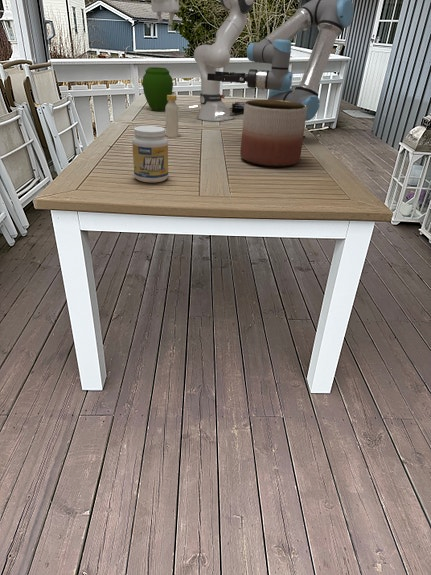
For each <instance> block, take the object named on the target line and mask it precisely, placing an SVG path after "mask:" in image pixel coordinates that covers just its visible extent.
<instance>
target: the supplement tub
mask: <svg viewBox="0 0 431 575" xmlns="http://www.w3.org/2000/svg"><path fill="white" fill-rule="evenodd" d="M133 130H134V131H133V134H134V136H133V137H132V140H131V144H132V160H133V176H134V178H135V179H136V180H138V181H139V182H143V183H161V182H164V181H166V180H167V179H168V177H169V141H168V137H167V136H166V128H164V127H162V126H157V125H139V126H136V127H134V128H133Z"/></svg>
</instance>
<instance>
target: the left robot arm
mask: <svg viewBox="0 0 431 575" xmlns="http://www.w3.org/2000/svg"><path fill="white" fill-rule="evenodd" d="M219 1H220V5H221V7H222V8H224V9H225V10H227V11H229V13H228V16H227V17H226V19H225V20H224V21H223V22H222V24H221V25H220V27H219V28H218V30H216V33H215V38H216V39H215V42H214V43H213V44H201V45H198V46H197V47H195V49H194V52H193V58H194V61H195V62H196V65H197V66H198V69H199V74H200V94H199V102H200V104H199V111H198V116H197V119H198V120H201V121H209V122H225V121H231V120H234V116H235V117H236V116H239V115H242V114H244V113H243V112H240V113H233V114H231V112H230V108H229V106H227V105H226V104H225V102H224V101H222V99H223V100H225V98H226V96H225V94H221V81H211V80H207V73H211V74H215V71H217V69H222V68H225V67H227V66H228V65H229V63H230V61H231V53H230V51H231V49H232V47H233V45H234V44H235V42H236V41H237V40H238V38H240V35H241V34H242V32H243V31H244V29H245V27H246V25H247V21H248V16H247V14H249V13H250V11H251V9H252V7H253V6H254V3H255V0H219ZM150 4H151V6H150V7H151V11H152V13H156V17H157V23H158V24H163V19H162V13H168V15H169V16H168V19H167V23H168V24H173V23H174V17H175V13H179V11H180V1H179V0H150ZM197 107H198V105H197V104H196V105H191V106H188V108H189V109H191V108H197Z"/></svg>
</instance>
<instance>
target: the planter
mask: <svg viewBox="0 0 431 575" xmlns="http://www.w3.org/2000/svg"><path fill="white" fill-rule="evenodd" d="M244 102H245V105H244V113H243V120H242V130H241V131H242V132H241V140H240V157H241V158H242V159H243V160H244V161H245V162H248V163H250V164H253V165H255V166H256V165H257V166H262V167H269V168H282V167H289V166H293V165H295V164H297V163H298V162H299V161H300V159H301V155H302V149H303V141H304V138H303V136H304V134H305V126H306V121H305V120H306V113H307V106H306V105H304V104H301V103H296V102H291V101H282V100H268V99H249V100H247V101H244Z"/></svg>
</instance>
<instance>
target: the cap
mask: <svg viewBox="0 0 431 575" xmlns="http://www.w3.org/2000/svg"><path fill="white" fill-rule="evenodd" d="M167 100H168V101H175V102H176V101H177V95H176V94H172V95H167Z"/></svg>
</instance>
